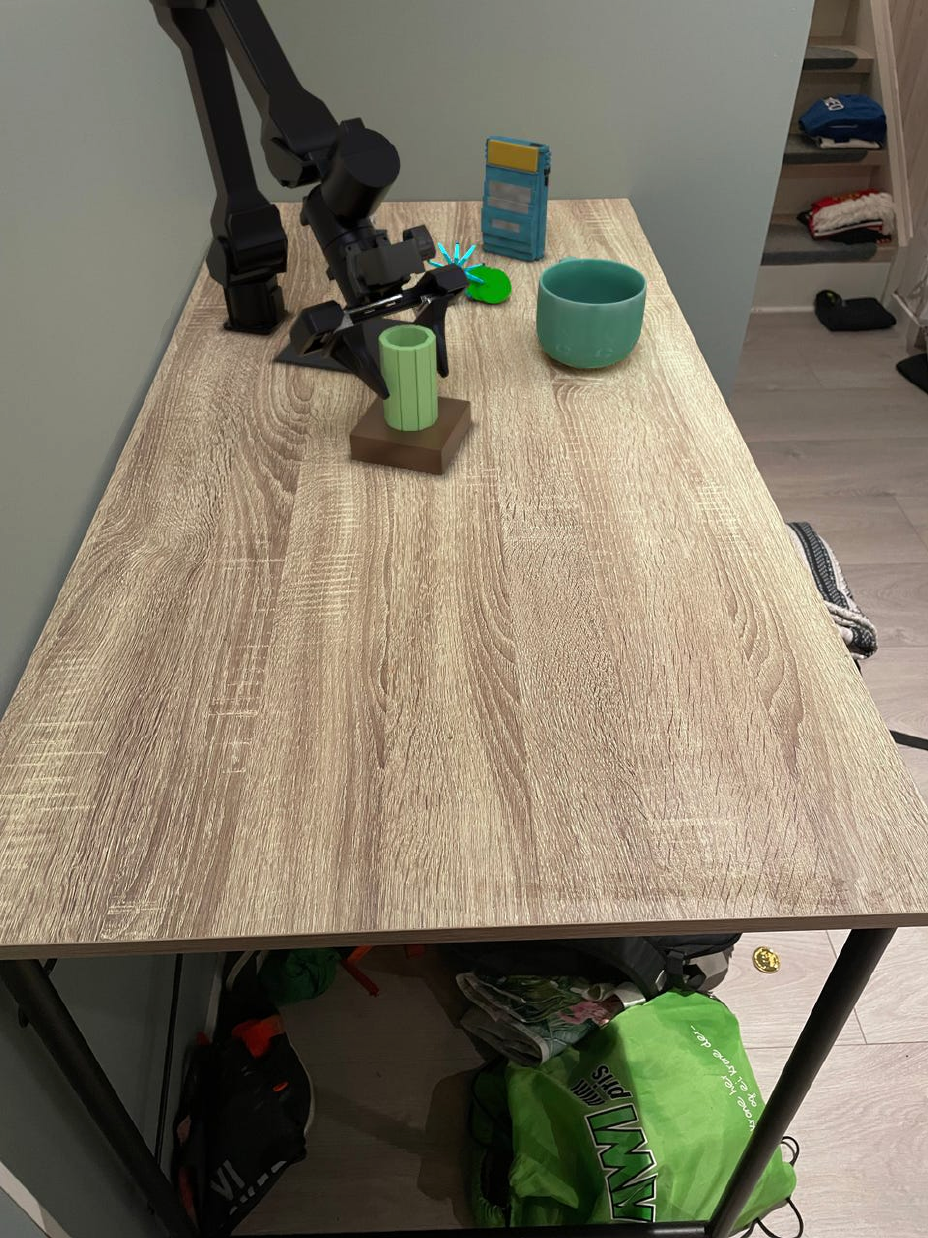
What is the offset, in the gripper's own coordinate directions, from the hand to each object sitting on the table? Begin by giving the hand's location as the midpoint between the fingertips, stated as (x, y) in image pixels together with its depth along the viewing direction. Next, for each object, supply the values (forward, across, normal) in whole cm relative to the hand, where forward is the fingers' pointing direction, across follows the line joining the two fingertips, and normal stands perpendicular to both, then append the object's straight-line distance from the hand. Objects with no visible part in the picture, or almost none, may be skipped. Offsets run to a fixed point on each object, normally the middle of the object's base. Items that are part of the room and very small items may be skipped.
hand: (417, 387), depth 92 cm
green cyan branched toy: (-14, +27, +24) cm, 39 cm away
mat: (-12, +6, +22) cm, 27 cm away
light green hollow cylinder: (+2, 0, +4) cm, 4 cm away
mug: (+1, +29, +10) cm, 30 cm away
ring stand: (+4, 0, +6) cm, 7 cm away
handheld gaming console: (-19, +40, +30) cm, 54 cm away
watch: (-28, +23, +38) cm, 52 cm away
